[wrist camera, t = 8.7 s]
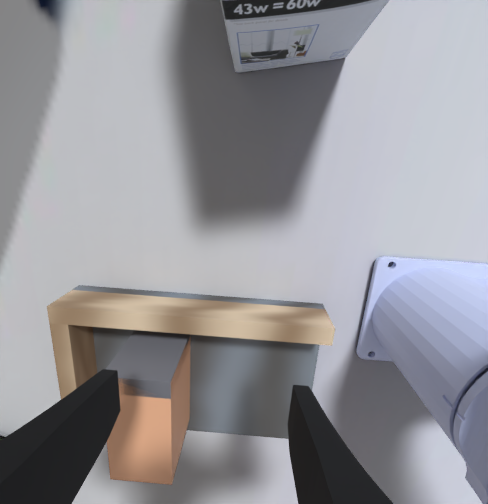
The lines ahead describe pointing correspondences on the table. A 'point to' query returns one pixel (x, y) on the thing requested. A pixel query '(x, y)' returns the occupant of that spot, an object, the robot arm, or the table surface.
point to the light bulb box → (294, 30)
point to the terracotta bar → (150, 406)
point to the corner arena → (200, 349)
